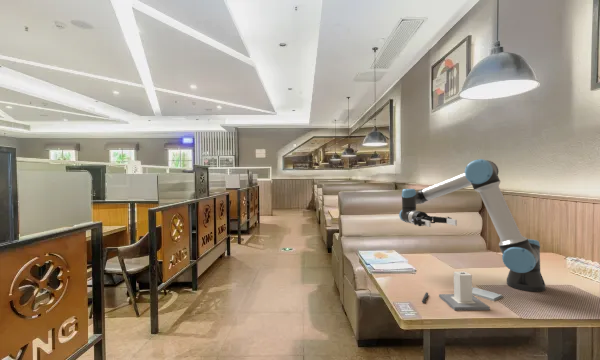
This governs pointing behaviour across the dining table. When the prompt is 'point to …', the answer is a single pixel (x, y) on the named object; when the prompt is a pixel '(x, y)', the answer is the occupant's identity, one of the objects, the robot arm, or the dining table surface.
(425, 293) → the dark grey rod
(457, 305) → the plate
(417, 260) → the dining table surface
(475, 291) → the hard drive
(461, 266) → the dining table surface
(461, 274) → the charger brick
